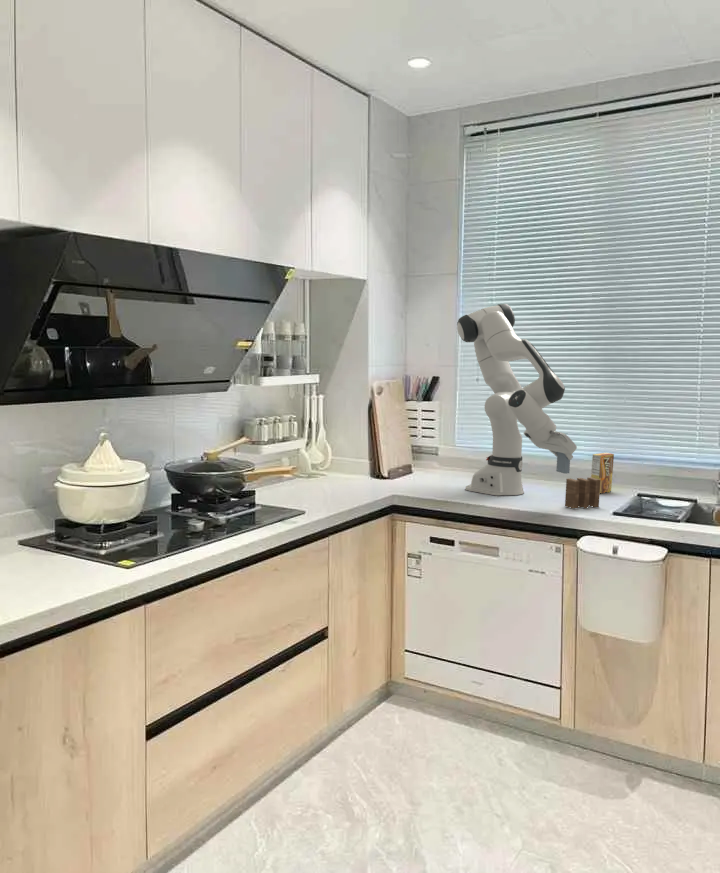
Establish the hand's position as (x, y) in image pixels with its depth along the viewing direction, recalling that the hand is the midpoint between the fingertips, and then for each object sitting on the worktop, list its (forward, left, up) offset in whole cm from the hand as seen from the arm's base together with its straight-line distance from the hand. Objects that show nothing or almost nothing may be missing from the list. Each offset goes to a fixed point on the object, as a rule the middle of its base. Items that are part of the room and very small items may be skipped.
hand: (565, 457), depth 276 cm
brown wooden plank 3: (+5, +7, -18) cm, 20 cm away
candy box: (+2, +40, -18) cm, 44 cm away
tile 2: (+2, +3, -18) cm, 19 cm away
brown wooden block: (+7, +11, -18) cm, 22 cm away
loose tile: (0, -1, -5) cm, 5 cm away
